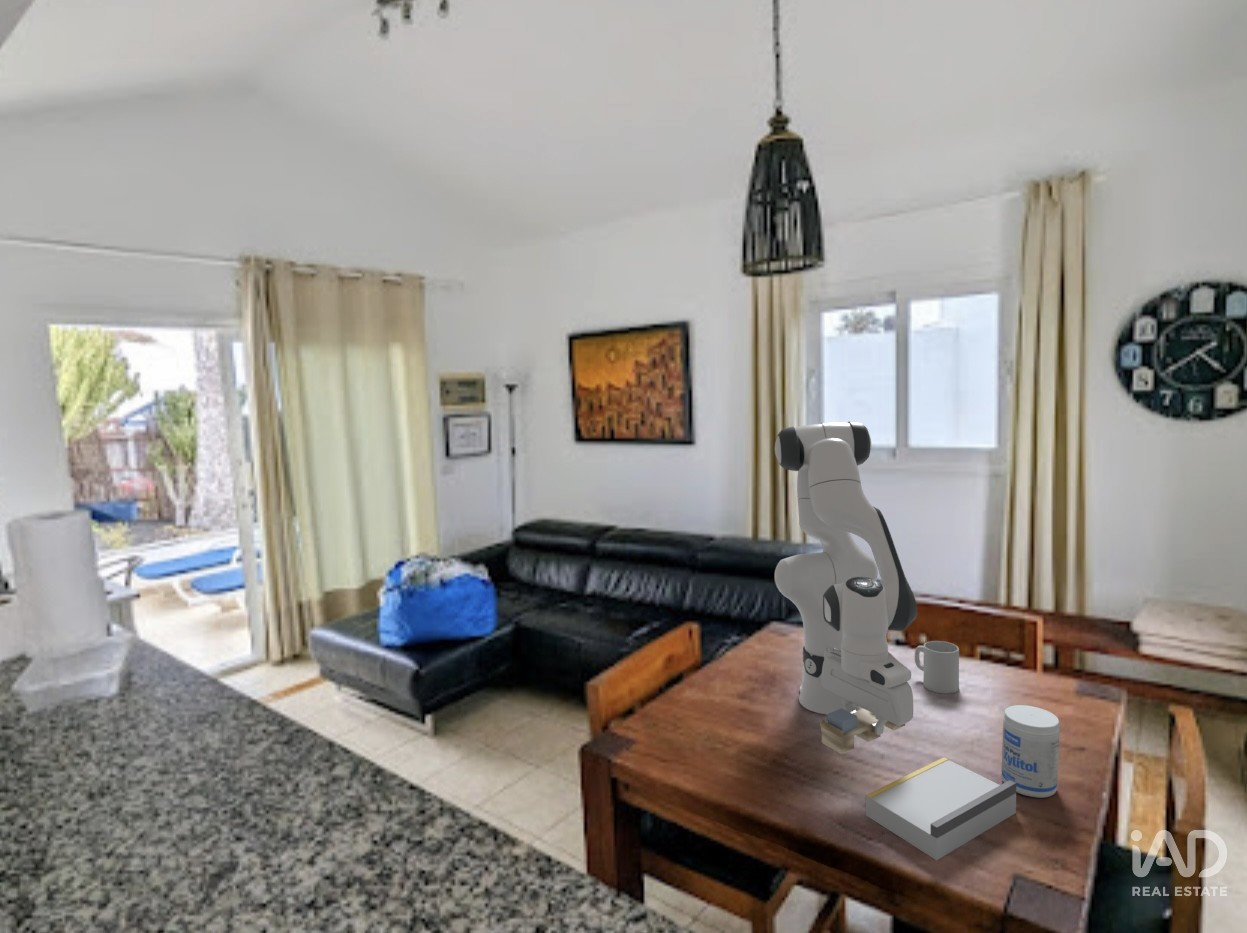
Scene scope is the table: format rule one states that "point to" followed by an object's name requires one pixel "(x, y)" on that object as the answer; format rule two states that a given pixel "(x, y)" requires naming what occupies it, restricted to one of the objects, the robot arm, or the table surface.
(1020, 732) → the supplement tub
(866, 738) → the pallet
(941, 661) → the mug
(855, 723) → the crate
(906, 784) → the dock
